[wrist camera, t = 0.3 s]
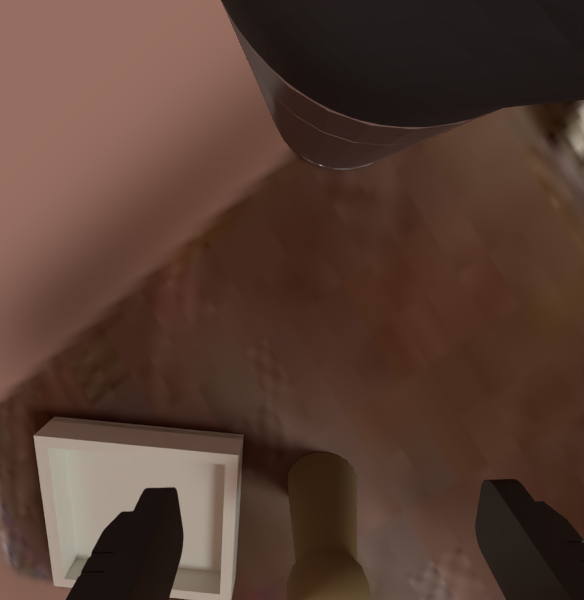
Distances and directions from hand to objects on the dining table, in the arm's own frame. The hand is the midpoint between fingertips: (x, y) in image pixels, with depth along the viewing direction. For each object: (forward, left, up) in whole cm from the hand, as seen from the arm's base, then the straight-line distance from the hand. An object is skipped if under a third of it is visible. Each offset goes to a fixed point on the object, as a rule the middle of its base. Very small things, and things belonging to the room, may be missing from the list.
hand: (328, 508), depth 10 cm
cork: (+16, +2, -19) cm, 25 cm away
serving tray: (+20, -13, -18) cm, 30 cm away
